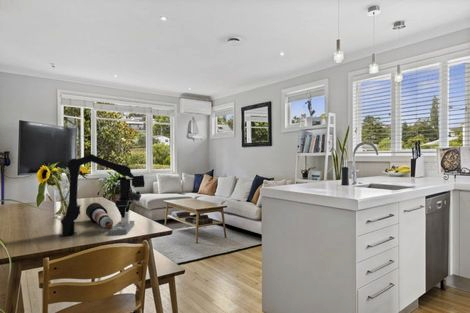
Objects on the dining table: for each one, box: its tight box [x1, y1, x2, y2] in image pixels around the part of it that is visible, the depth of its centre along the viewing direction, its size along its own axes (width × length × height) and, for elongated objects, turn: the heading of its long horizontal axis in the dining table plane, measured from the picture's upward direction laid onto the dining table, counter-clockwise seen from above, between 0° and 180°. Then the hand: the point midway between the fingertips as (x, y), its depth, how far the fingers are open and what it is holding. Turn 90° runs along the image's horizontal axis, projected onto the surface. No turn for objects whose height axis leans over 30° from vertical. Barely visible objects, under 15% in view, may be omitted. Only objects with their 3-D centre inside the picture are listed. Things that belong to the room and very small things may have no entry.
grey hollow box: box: [109, 220, 135, 236], centre depth 163 cm, size 20×8×4 cm, turn 7°
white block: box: [120, 211, 131, 224], centre depth 169 cm, size 4×4×8 cm
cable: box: [85, 202, 114, 229], centre depth 179 cm, size 10×34×10 cm, turn 38°
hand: (125, 215), depth 169 cm, fingers open, 9 cm apart
